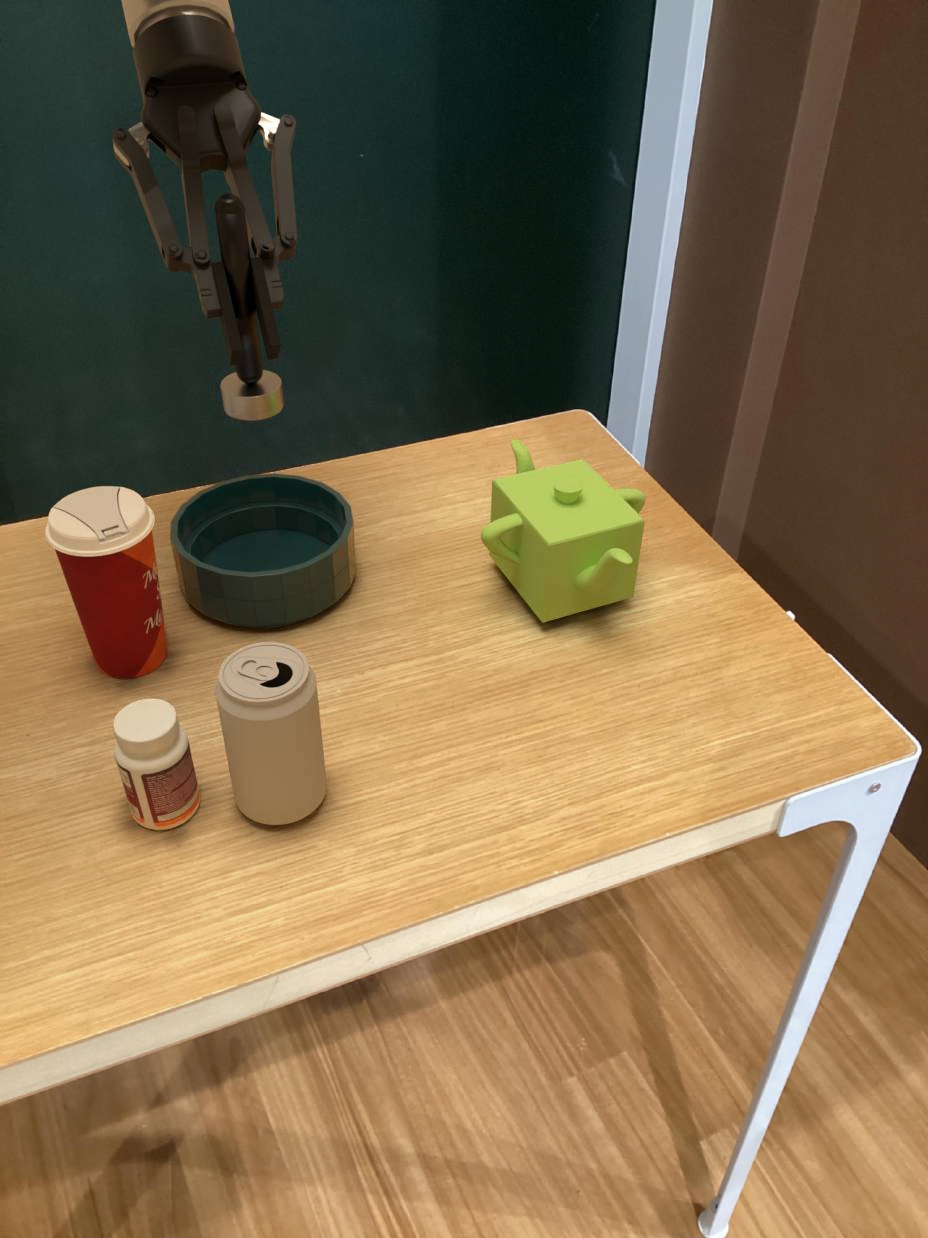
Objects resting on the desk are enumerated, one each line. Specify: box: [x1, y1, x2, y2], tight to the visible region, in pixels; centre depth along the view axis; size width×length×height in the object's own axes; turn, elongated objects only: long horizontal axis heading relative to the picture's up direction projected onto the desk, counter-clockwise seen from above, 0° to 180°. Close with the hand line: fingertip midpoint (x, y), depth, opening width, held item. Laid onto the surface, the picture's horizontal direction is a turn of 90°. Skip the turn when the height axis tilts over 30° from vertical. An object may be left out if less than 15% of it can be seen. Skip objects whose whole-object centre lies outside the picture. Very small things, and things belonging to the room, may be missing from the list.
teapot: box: [480, 439, 646, 623], centre depth 91 cm, size 15×13×11 cm
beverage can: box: [214, 641, 328, 826], centre depth 71 cm, size 6×6×12 cm
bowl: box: [169, 472, 357, 629], centre depth 92 cm, size 15×15×6 cm
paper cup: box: [44, 485, 168, 680], centre depth 81 cm, size 8×8×14 cm
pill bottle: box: [112, 698, 201, 831], centre depth 71 cm, size 5×5×8 cm
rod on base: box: [214, 193, 285, 422], centre depth 77 cm, size 5×5×16 cm
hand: (255, 354), depth 76 cm, fingers closed on rod on base, 2 cm apart
